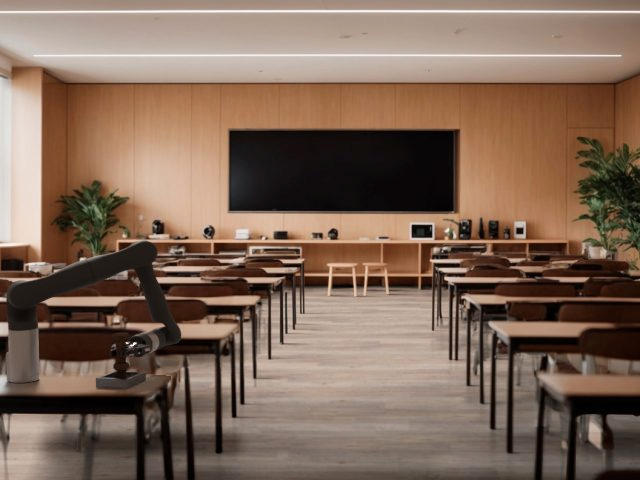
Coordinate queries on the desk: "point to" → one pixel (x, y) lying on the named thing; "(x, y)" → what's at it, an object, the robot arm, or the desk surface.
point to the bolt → (120, 361)
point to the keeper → (120, 380)
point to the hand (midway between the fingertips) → (116, 353)
